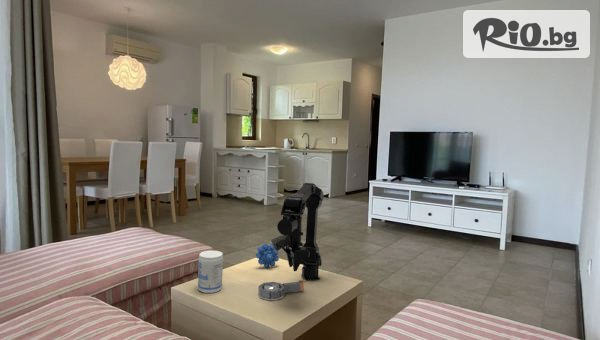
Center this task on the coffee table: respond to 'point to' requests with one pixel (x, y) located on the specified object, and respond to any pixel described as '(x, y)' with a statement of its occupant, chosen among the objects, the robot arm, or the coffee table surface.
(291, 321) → the coffee table surface
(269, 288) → the grey metal bowl
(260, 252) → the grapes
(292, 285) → the grey octagonal frying pan
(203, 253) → the supplement tub
